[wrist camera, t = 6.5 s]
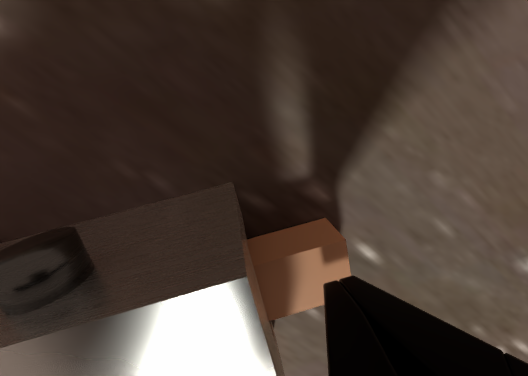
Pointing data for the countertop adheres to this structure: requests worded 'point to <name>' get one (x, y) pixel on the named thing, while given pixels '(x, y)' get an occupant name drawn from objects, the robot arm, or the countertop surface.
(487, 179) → the countertop surface
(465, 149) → the countertop surface
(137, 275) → the grey cube with knob
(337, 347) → the robot arm
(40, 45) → the countertop surface
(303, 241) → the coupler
